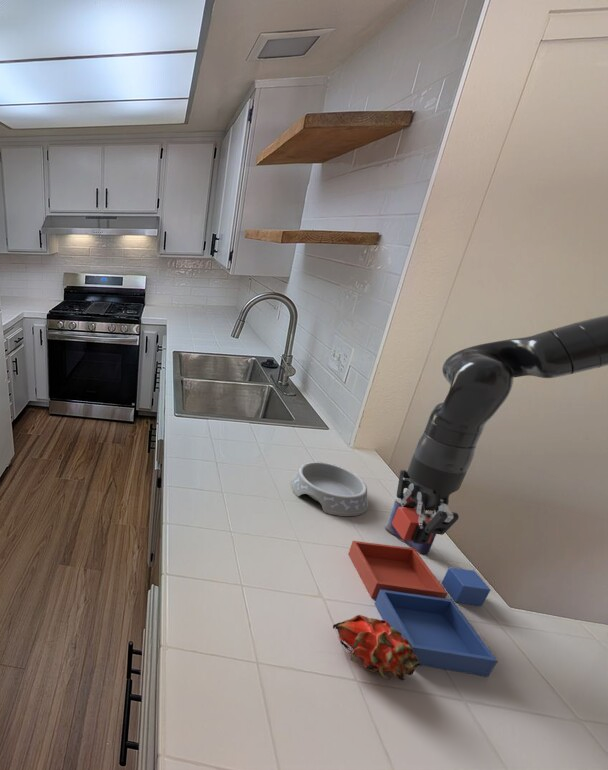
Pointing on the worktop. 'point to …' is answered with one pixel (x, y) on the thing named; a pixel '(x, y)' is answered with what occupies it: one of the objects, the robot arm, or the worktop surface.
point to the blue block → (465, 586)
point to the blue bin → (436, 632)
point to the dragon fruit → (378, 646)
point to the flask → (390, 528)
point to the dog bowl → (332, 488)
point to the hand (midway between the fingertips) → (410, 532)
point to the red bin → (393, 570)
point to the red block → (407, 522)
